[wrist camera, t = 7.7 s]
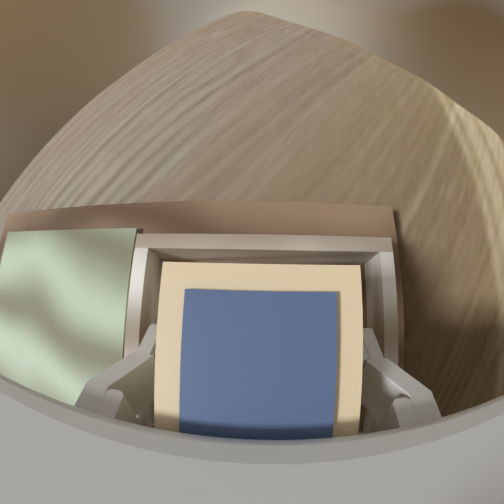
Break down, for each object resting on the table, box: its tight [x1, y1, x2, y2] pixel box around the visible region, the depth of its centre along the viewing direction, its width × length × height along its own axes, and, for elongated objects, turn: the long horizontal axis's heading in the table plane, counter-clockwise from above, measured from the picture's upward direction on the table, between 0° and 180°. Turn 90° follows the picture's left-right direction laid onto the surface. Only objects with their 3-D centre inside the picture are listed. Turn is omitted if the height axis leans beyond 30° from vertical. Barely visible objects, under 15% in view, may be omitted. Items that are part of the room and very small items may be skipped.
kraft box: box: [154, 262, 363, 440], centre depth 10 cm, size 5×5×9 cm
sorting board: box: [0, 201, 405, 435], centre depth 15 cm, size 18×32×4 cm, turn 88°
